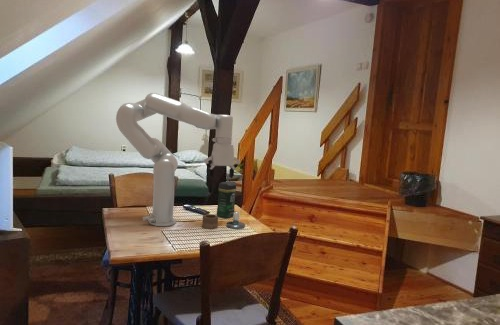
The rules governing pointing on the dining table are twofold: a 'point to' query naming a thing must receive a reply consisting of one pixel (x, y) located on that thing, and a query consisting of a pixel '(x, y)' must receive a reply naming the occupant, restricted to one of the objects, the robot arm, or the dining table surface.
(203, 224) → the collar
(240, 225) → the post
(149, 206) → the dining table surface
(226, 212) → the coffee jar
